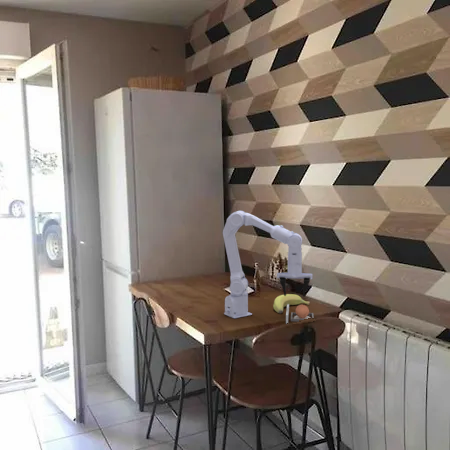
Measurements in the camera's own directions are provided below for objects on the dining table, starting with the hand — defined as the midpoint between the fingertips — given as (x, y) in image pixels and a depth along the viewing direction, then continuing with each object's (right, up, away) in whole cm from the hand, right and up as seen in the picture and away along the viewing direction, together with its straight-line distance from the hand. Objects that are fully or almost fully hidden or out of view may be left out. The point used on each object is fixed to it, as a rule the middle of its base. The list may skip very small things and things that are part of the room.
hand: (294, 295), depth 202 cm
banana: (+1, -8, +16) cm, 18 cm away
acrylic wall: (-3, -9, 0) cm, 10 cm away
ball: (+3, -6, -1) cm, 7 cm away
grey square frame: (+3, -9, 0) cm, 10 cm away
